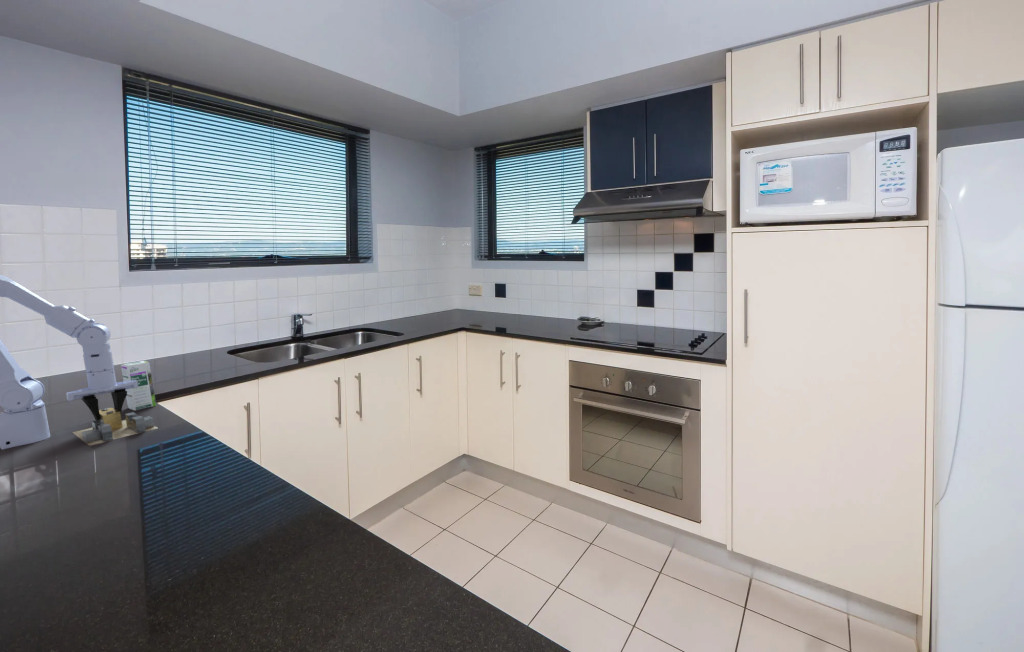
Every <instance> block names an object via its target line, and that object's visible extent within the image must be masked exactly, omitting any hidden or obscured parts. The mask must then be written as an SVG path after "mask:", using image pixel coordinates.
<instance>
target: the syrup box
mask: <svg viewBox="0 0 1024 652" xmlns="http://www.w3.org/2000/svg"><path fill="white" fill-rule="evenodd" d="M120 368H121V375H122V379H123V380H122V382H125V381H132V380H136V381H137V382H138V388H131V389H126V391H127V396H126V398H125V399H126V403H127V408H128V409H129V410H132V411H139V410H142V409H147V408H152V407H156V406H157V402H156V395H155V389H154V383H153V377H152V371H151V364H150V362H149V361H147V360H140V361H135V362H129V363H121V364H120Z"/></svg>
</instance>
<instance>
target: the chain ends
mask: <svg viewBox="0 0 1024 652" xmlns="http://www.w3.org/2000/svg"><path fill="white" fill-rule="evenodd" d="M124 417H125V418H124V420H126V425H127V428H129V429H131V430H133V431H134V432H136V433H138V434H141V432H142V433H145V431H146V428H150V427H154V426H155V422H154V421H155V420H154V417H151V416H149V415H148V416H142V415H138V414H137V413H136V412H133V411H132V412H128V413H125V414H124ZM91 425H92V426H91V427H92V428H93V429H92V430H88V431H83V432H82V435H83V440H84V441H85V442H86V443H85V442H84V441H83V440H82V441H83V442H84V443H85V444H87V443H90V442H94V441H98V440H102V441H103V442H102V443H107V442H109V440H110V441H114V440H113V436H112V430H111V425H109V424H104V421H102V420H101V419H100V420H92V421H91ZM146 432H147V431H146Z"/></svg>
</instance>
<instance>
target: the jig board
mask: <svg viewBox="0 0 1024 652" xmlns="http://www.w3.org/2000/svg"><path fill="white" fill-rule="evenodd" d="M122 426H123V427H122V428H118V429H114V430H112V436H113V440H112V441H114V440H117V439H122V438H126V437H130V436H134V435H137V434H139V433H136V432H134V431H133V430H131V429H129V428H127V425H126V419H123V420H122ZM92 429H93V427H89V428H85V429H81V430H76V431H72V432H71V433H73V435H75V436H77V438H78V439H80V440H81V441H82V442H84V443H85V444H87V445H88V446H94V445H99V444H103V443H104V442H103V441H102V440H98V441H94V442H90V443H86V442H85V441H84V440H83V435H82V432H83V431H88V430H92ZM157 429H158V427H157V426H155V425H154V427H150V428H146V431H145V432H148V431H153V430H157ZM145 432H144V433H145ZM141 433H143V432H141ZM141 433H140V434H141ZM109 441H110V442H111V440H109ZM109 441H108V442H109Z"/></svg>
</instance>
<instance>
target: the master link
mask: <svg viewBox="0 0 1024 652" xmlns="http://www.w3.org/2000/svg"><path fill="white" fill-rule="evenodd" d="M99 413H100V417H101V420H102V421H104V424H109V425H111V430H114V429H118V428H122V427H123V426H122V421H123V420H122V413H121V414H120V412H119V411H117V410H115V409H114V407H105V408H101V409H99Z"/></svg>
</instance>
